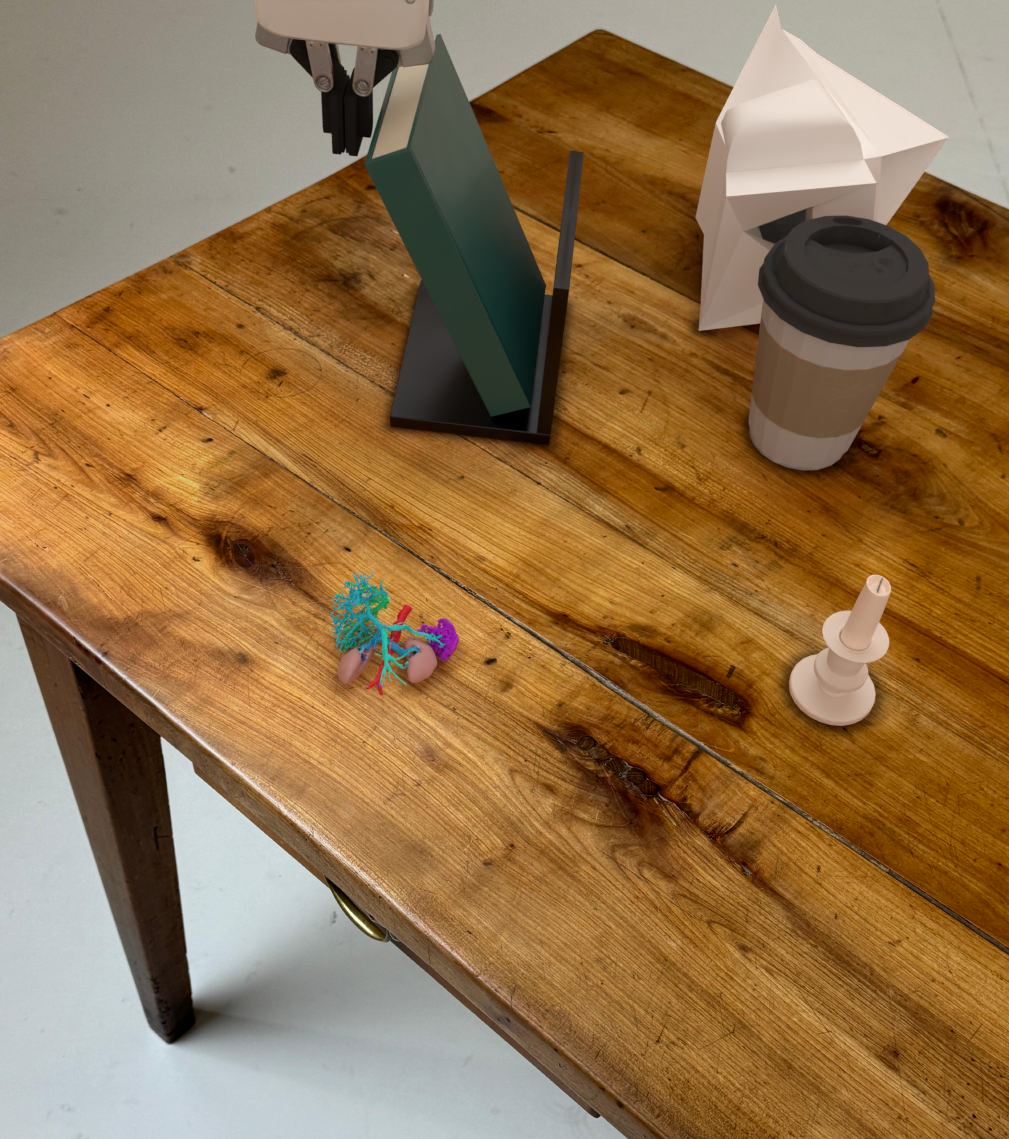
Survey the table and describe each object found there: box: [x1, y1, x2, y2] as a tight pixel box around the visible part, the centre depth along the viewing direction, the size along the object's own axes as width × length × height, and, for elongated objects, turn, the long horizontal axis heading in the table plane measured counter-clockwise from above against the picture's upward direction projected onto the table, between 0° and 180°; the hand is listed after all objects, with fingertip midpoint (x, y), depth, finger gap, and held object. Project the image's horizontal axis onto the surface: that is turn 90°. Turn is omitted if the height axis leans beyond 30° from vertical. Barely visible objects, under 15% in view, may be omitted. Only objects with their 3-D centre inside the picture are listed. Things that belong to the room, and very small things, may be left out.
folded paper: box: [694, 4, 950, 332], centre depth 99 cm, size 17×24×17 cm
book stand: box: [389, 150, 585, 446], centre depth 90 cm, size 11×16×13 cm
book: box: [363, 33, 547, 417], centre depth 86 cm, size 20×14×3 cm
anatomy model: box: [328, 571, 460, 696], centre depth 75 cm, size 5×8×7 cm
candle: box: [788, 574, 892, 727], centre depth 74 cm, size 5×5×10 cm
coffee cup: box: [747, 215, 936, 471], centre depth 86 cm, size 11×11×15 cm
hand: (348, 143), depth 82 cm, fingers closed
